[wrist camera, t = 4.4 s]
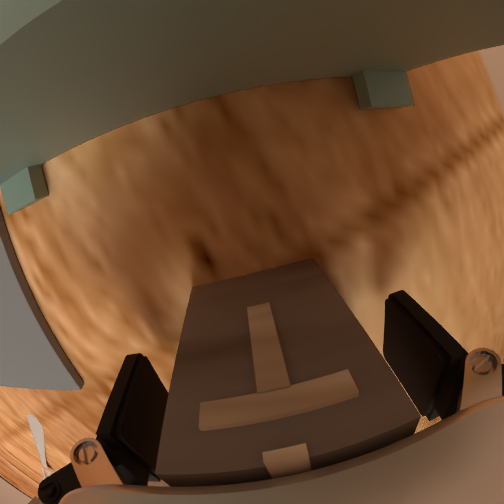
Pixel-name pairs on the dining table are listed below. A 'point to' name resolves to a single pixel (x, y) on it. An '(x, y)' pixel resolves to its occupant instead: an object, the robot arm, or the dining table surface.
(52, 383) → the mat
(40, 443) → the fork
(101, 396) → the dining table surface
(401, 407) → the lettered block
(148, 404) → the robot arm
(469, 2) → the green panel with feet
